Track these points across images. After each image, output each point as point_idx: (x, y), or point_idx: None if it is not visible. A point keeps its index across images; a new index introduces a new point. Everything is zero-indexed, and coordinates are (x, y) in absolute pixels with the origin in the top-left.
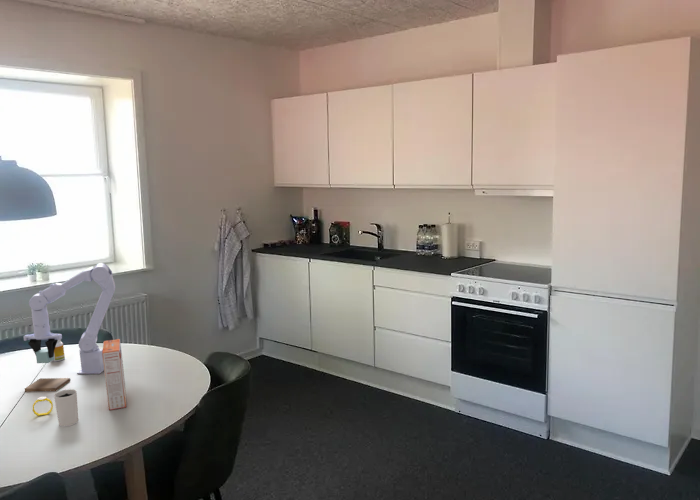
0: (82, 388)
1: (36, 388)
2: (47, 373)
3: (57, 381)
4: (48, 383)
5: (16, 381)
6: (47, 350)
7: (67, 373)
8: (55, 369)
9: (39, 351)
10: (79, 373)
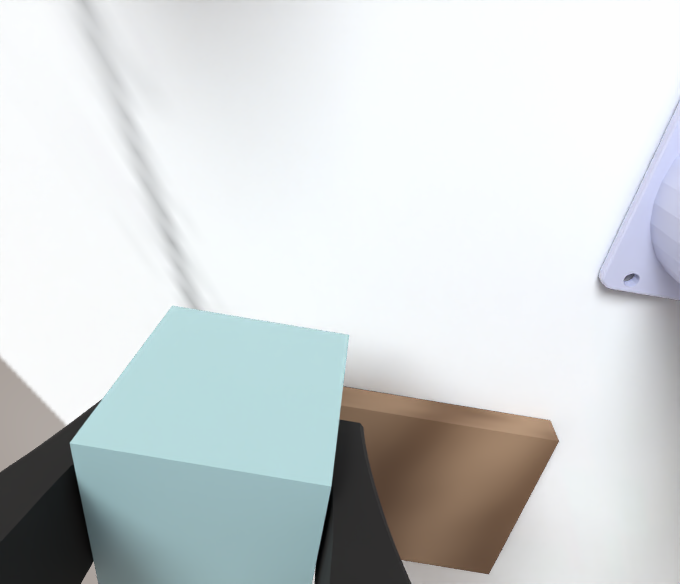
0: (665, 550)
1: None
2: (243, 180)
3: (465, 481)
4: (404, 500)
5: (62, 333)
6: (270, 561)
7: (478, 227)
8: (275, 45)
9: (141, 569)
10: (625, 290)
